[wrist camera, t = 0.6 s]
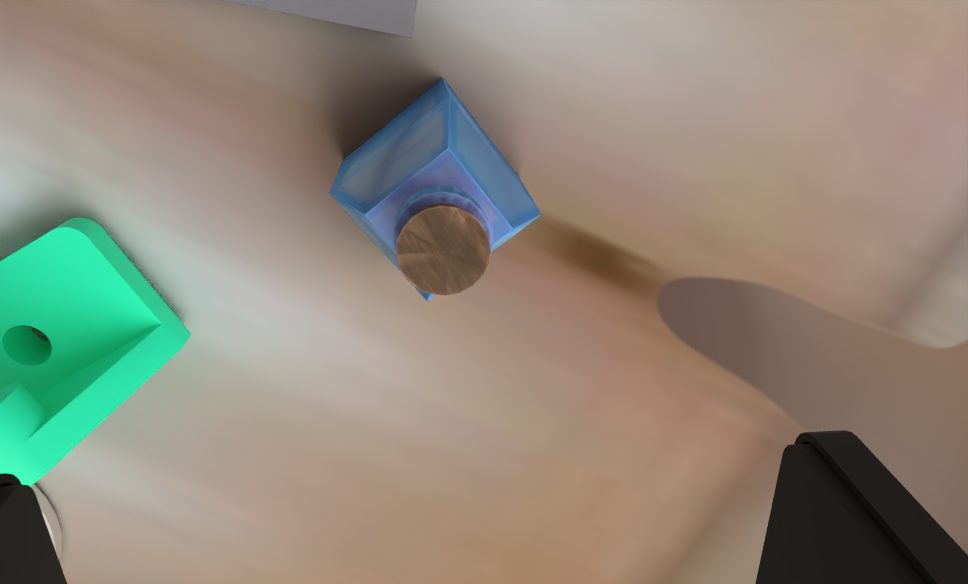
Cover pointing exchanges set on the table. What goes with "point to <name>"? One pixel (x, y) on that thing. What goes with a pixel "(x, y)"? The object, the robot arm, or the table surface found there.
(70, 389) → the camera mount
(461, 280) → the perfume bottle
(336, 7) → the camera body block
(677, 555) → the table surface
